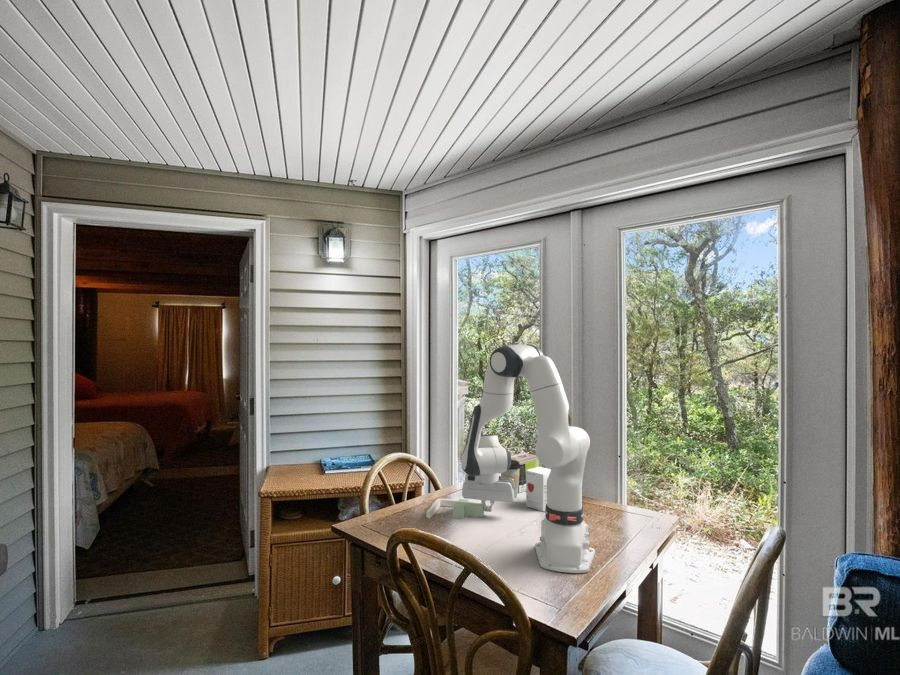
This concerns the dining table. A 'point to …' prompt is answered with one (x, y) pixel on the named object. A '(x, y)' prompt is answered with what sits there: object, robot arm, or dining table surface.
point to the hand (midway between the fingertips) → (487, 511)
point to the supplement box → (537, 487)
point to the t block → (467, 509)
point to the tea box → (525, 467)
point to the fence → (439, 503)
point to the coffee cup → (513, 474)
